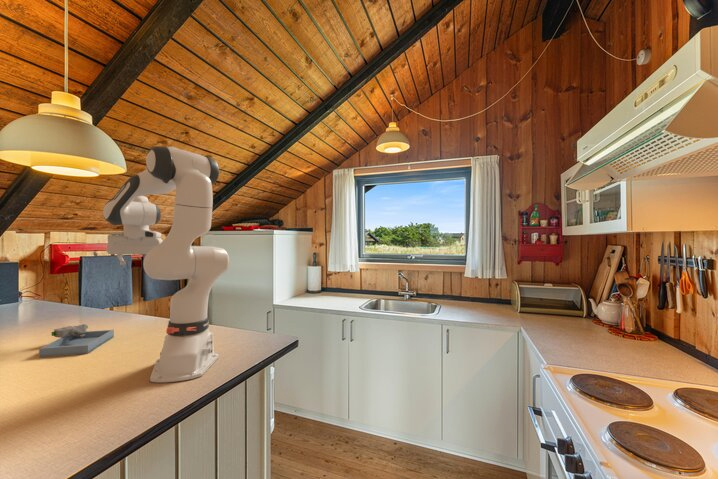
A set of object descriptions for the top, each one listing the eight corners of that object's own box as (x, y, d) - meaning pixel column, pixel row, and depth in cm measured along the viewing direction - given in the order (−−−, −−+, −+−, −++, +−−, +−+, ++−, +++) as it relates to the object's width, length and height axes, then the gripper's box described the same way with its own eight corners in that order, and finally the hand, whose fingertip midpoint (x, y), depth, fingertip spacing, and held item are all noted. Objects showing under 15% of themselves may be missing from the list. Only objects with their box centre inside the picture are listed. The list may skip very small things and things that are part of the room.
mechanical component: (99, 326, 116) (85, 322, 120) (65, 334, 107) (51, 329, 111) (98, 334, 116) (85, 329, 120) (64, 342, 107) (51, 337, 111)
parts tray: (87, 353, 104) (87, 345, 104) (39, 357, 100) (39, 348, 100) (113, 337, 121) (113, 329, 121) (72, 339, 117) (73, 332, 117)
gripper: (103, 232, 122) (103, 265, 122) (160, 233, 127) (159, 265, 128) (111, 232, 128) (111, 264, 128) (165, 233, 134) (165, 263, 134)
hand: (136, 264), depth 128 cm, fingers open, 8 cm apart
